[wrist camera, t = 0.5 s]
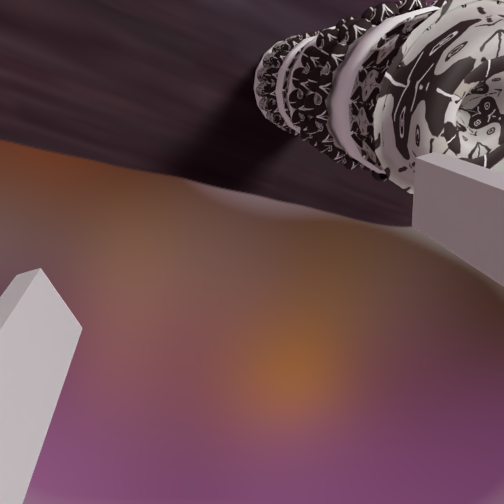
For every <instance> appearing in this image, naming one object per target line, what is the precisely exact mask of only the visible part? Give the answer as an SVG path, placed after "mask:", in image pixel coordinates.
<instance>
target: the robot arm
mask: <svg viewBox="0 0 504 504" xmlns="http://www.w3.org/2000/svg"><path fill="white" fill-rule="evenodd" d="M412 226H413V227H415V228H416V229H418V230H419V231H421V232H422V233H424V234H425V235H427V236H428V237H430V238H431V239H433V240H434V241H436V242H437V243H439V244H440V245H442V246H443V247H445V248H447V249H448V250H449V251H451V252H452V253H454V254H455V255H457V256H458V257H460V258H461V259H463V260H465V261H466V262H467V263H469V264H470V265H472V266H473V267H475V268H476V269H478V270H479V271H481V272H482V273H484V274H485V275H487V276H489V277H490V278H491V279H493V280H494V281H496V282H497V283H499V284H501V285H502V286H504V174H503V173H500V172H497V171H494V170H491V169H488V168H485V167H482V166H479V165H476V164H473V163H469V162H466V161H463V160H460V159H457V158H454V157H451V156H448V155H445V154H442V153H439V152H432V153H429V154H426V155H422V156H419V157H416V159H415V178H414V197H413V216H412ZM81 331H82V327H81V325H80V324H79V322H78V321H77V319H76V318H75V317H74V315H73V314H72V312H71V311H70V309H69V308H68V307H67V305H66V304H65V302H64V301H63V299H62V298H61V296H60V295H59V294H58V292H57V291H56V289H55V288H54V286H53V285H52V284H51V283H50V281H49V279H48V278H47V276H46V275H45V273H44V272H43V271H42V269H41V268H39V269H36V270H32V271H29V272H25V273H22V274H19V275H16V277H15V278H14V279H13V281H12V282H11V284H10V285H9V286H8V288H7V289H6V290H5V292H4V293H3V294H2V296H1V297H0V504H22V503H23V500H24V498H25V495H26V492H27V489H28V486H29V483H30V480H31V477H32V474H33V471H34V468H35V465H36V462H37V459H38V457H39V454H40V451H41V448H42V445H43V442H44V439H45V436H46V433H47V430H48V427H49V424H50V422H51V419H52V416H53V413H54V410H55V407H56V404H57V401H58V398H59V395H60V392H61V389H62V386H63V384H64V381H65V378H66V375H67V372H68V369H69V366H70V363H71V360H72V357H73V354H74V351H75V349H76V346H77V343H78V340H79V336H80V334H81Z"/></svg>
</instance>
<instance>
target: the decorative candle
mask: <svg viewBox="0 0 504 504" xmlns="http://www.w3.org/2000/svg"><path fill="white" fill-rule="evenodd" d="M388 16H392V17H391V18H388V19H387V17H388ZM377 25H378V26H377ZM253 89H254V93H255V98H256V102H257V106H258V107H259V109H260V110H261V112H262V113H263V115H264V116H265V118H266V119H268V120H269V121H271V122H272V123H274V124H276V125H277V126H278V127H279V128H281V129H282V130H284V131H287V132H289V133H292V134H293V135H294V136H299V135H301V138H302V139H303V140H305V141H309V143H310V144H311V145H312V146H314V147H315V148H316V149H318V150H319V151H320V152H322V153H325V154H326V155H328V156H329V157H330V158H331V159H332V160H333V161H335V162H338V163H339V162H342V161H343V165H344V166H345V167H346V168H347V169H355V168H357V167H358V166H359V165H360V167H361V168H362V169H364V170H367V171H371V170H372V176H373V178H374V179H376V180H378V181H386V180H388V179H389V180H391V181H392V182H394V183H395V184H397V185H398V186H400V187H401V188H403V189H404V190H406V191H407V192H409V193H410V194H414V178H415V159H416V157H419V156H422V155H426V154H429V153H432V152H439V153H442V154H445V155H448V156H451V157H454V158H457V159H460V160H463V161H466V162H469V163H473V164H476V165H479V166H482V167H485V168H488V169H490V168H492V167H493V166H494V165H496V164H497V163H499V162H500V161H501V160H503V159H504V0H451V1H446V0H437V1H435V2H433V3H431V4H430V5H429V6H428V7H427V3H426V1H425V0H403V1H398V2H394V3H393V2H383V3H380V4H379V5H377V6H372V7H370V8H368V9H367V10H366V11H364V13H363V14H362V16H361V17H360V16H350V17H348V18H345V19H342V20H341V21H339V22H338V23H337V25H336V26H335V27H331V28H328V29H324V30H319V31H318V32H313V33H310V32H306V33H304V34H300V35H298V36H292V37H289V38H286V39H284V40H283V41H281V42H277V43H276V44H275V45H274V46H273V47H271V48H270V49H269V50H268V51H267V52H266V53H265V54H264V55H263V57H262V59H261V61H260V63H259V65H258V67H257V69H256V72H255V80H254V87H253Z"/></svg>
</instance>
